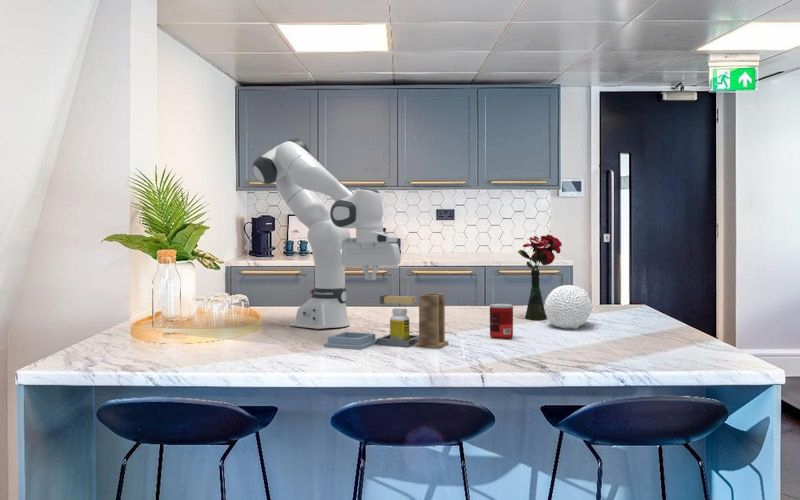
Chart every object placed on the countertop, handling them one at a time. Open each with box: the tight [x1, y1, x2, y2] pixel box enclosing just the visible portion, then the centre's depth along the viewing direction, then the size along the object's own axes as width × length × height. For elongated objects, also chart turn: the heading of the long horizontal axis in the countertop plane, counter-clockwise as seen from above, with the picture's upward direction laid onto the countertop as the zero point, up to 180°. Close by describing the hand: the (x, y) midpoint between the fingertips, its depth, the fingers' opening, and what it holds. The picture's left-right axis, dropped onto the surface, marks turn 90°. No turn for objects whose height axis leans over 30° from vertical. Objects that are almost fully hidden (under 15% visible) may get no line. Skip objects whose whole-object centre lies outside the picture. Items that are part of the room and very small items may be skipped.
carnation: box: [516, 234, 563, 321], centre depth 242 cm, size 16×18×35 cm
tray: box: [323, 331, 377, 351], centre depth 192 cm, size 13×13×3 cm
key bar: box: [379, 294, 417, 305], centre depth 194 cm, size 11×4×3 cm, turn 67°
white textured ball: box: [544, 284, 593, 330], centre depth 225 cm, size 20×18×16 cm
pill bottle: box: [389, 307, 410, 340], centre depth 194 cm, size 6×6×11 cm
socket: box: [376, 333, 419, 348], centre depth 195 cm, size 11×11×2 cm
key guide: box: [414, 292, 449, 349], centre depth 190 cm, size 8×8×16 cm
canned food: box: [489, 303, 514, 340], centre depth 206 cm, size 8×8×11 cm
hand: (370, 279), depth 198 cm, fingers closed
